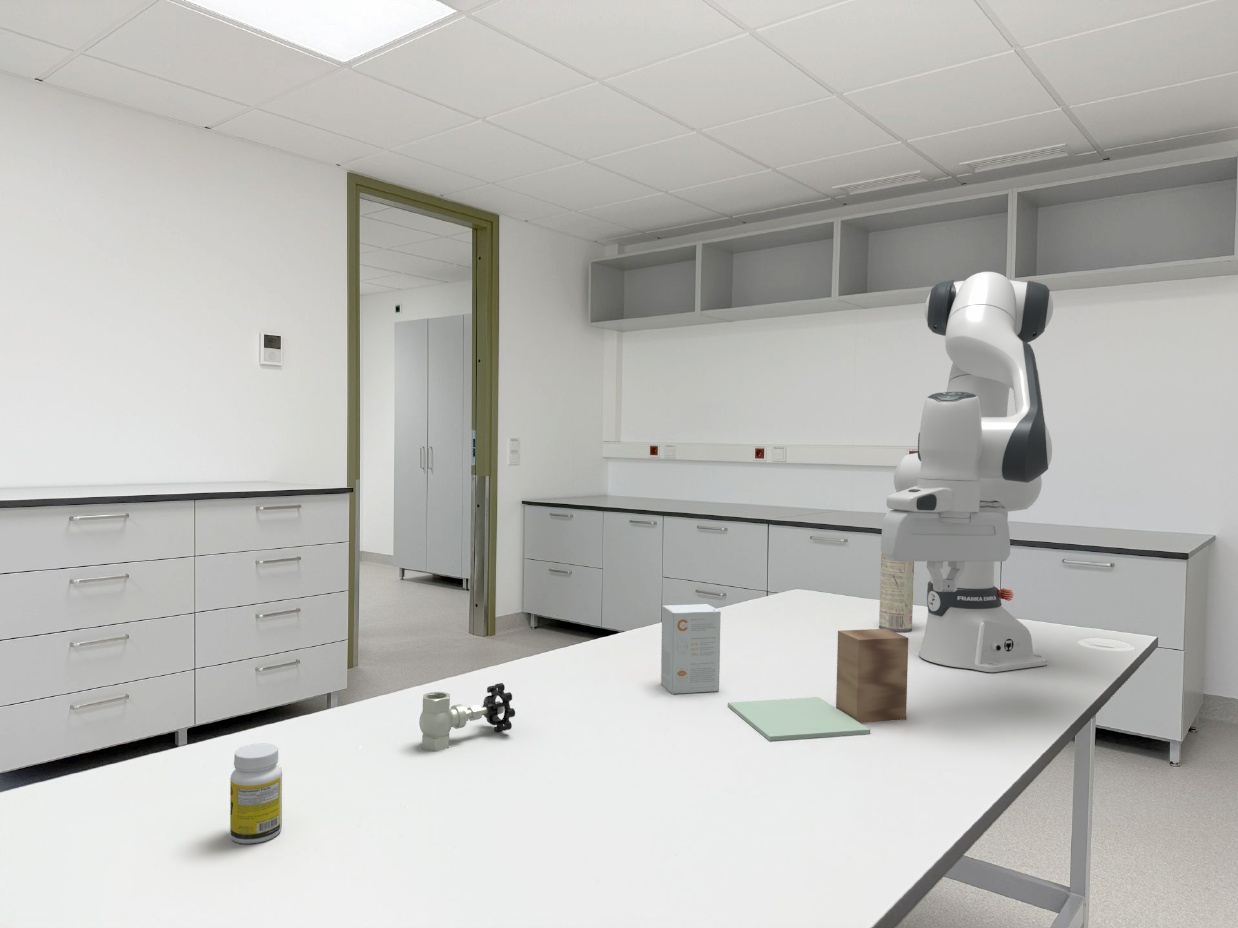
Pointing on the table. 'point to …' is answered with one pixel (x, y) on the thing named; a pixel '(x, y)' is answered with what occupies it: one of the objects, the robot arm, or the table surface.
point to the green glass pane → (797, 718)
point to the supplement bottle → (256, 794)
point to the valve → (460, 716)
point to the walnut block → (872, 675)
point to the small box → (690, 648)
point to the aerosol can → (896, 595)
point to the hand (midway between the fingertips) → (944, 591)
